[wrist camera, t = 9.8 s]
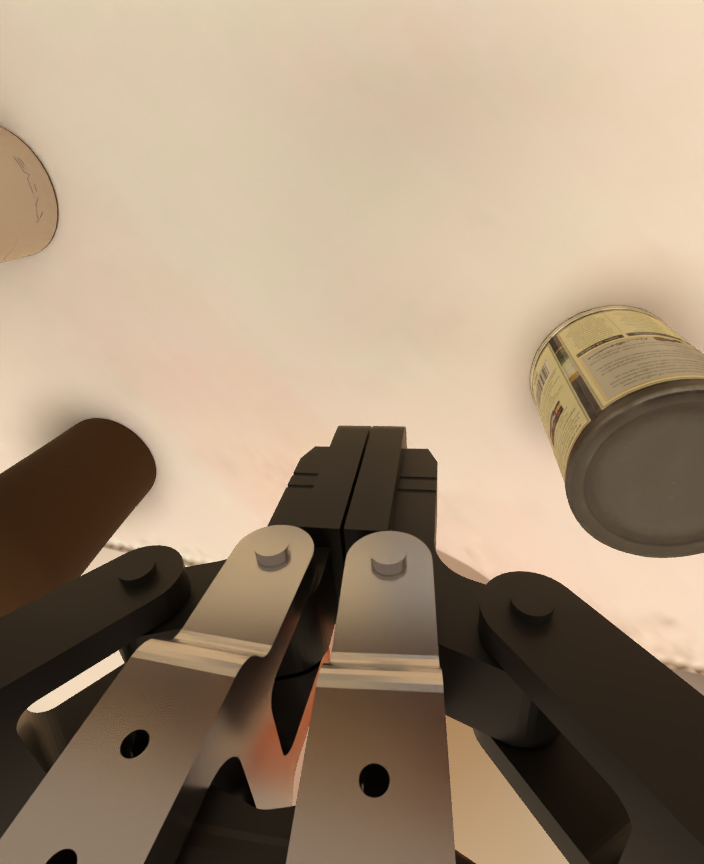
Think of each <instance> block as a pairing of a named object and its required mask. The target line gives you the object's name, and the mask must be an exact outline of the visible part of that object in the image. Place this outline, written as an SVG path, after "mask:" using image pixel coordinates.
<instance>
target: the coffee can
mask: <svg viewBox="0 0 704 864" xmlns="http://www.w3.org/2000/svg"><path fill="white" fill-rule="evenodd" d="M530 388H531V393H532V396H533V399H534V402H535V404H536V405H537V407H538V410H539V413H540V416H541V418H542V421H543V424H544V427H545V429H546V432H547V435H548V438H549V441H550V443H551V446H552V449H553V452H554V455H555V457H556V460H557V463H558V466H559V469H560V471H561V474H562V477H563V479H564V482H565V489H566V495H567V499H568V502H569V505H570V508H571V510H572V512H573V514H574V516H575V518H576V519H577V521H578V522H579V523H580V525H581V526H582V527H583V528H584V529H585V530H586V532H587V533H589V534H590V535H591V536H592V537H594V538H595V539H596V540H598V541H600V542H601V543H603V544H605V545H607V546H609V547H611V548H614V549H617V550H619V551H623V552H626V553H630V554H634V555H639V556H644V557H654V558H669V557H683V556H689V555H695V554H700V553H704V354H702V353H701V352H700V351H699V350H697V349H696V348H695V347H693V346H692V345H691V344H689V343H688V342H687V341H685V340H684V339H683V338H682V337H680V336H679V335H678V334H676V333H675V332H674V331H672V330H671V329H670V328H669V327H668V326H667V325H666V324H665V323H664V322H663V321H662V320H660V319H659V318H658V317H656V316H655V315H653V314H651V313H649V312H647V311H645V310H642V309H639V308H633V307H629V306H606V307H600V308H595V309H592V310H589V311H586V312H582V313H580V314H578V315H576V316H574V317H573V318H571V319H569V320H567V321H566V322H564V323H563V324H561V325H560V326H558V327H557V328H556V329H555V330H554V331H553V332H552V333H551V334H550V335H549V336H548V337H547V338H546V339H545V341H544V342H543V343H542V345H541V346H540V348H539V349H538V351H537V353H536V356H535V358H534V361H533V364H532V368H531V373H530Z"/></svg>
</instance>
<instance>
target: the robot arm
mask: <svg viewBox="0 0 704 864" xmlns="http://www.w3.org/2000/svg"><path fill="white" fill-rule="evenodd" d="M56 223H57V204H56V199H55V195H54V191H53V187H52V185H51V183H50V180H49V178H48V175H47V173H46V172H45V170H44V168H43V167H42V165H41V163H40V162H39V160H38V159H37V157H36V156H35V155H34V154H33V153H32V151H31V150H30V149H29V148H28V147H27V146H26V145H25V144H24V143H23V142H22V141H21V140H20V139H19V138H18V137H16V136H15V135H13V134H12V133H10V132H9V131H7V130H6V129H4V128H2V127H0V262H4V261H8V260H12V259H16V258H21V257H25V256H29V255H32V254H35V253H38V252H39V251H41V250H42V249H44V248H45V247H46V246H47V245H48V243H49V242H50V241H51V239H52V237H53V235H54V232H55V229H56ZM436 527H437V461H436V460H435V458H434V457H433V455H432V454H431V452H430V451H429V450H428V449H407V443H406V428H405V427H396V426H373V427H371V426H338V428H337V430H336V433H335V435H334V438H333V440H332V442H331V445H330V447H316V446H315V447H314V448H313V449H312V450H310V451H309V452H308V453H307V454H306V455H304V456H303V457H302V458H301V459H300V461H299V463H298V465H297V467H296V469H295V471H294V476H292V477H291V479H290V481H289V483H288V488H287V487H286V489H285V491H284V493H283V496H282V498H281V500H280V502H279V504H278V506H277V508H276V510H275V512H274V514H273V516H272V518H271V520H270V522H269V524H268V526H267V527H264V528H261V529H258V530H256V531H254V532H252V533H250V534H248V535H247V536H246V537H244V538H243V539H242V540H241V541H240V542H239V543H238V544H237V545H236V547H235V548H234V550H233V551H232V553H231V554H230V556H229V557H228V559H226V560H222V561H218V562H212V563H207V564H201V565H195V566H190V567H185V566H184V562H183V559H182V557H181V555H180V554H179V552H177V551H176V550H175V549H173V548H171V547H167V546H160V545H158V546H146V547H142V548H138V549H135V550H132V551H130V552H128V553H126V554H124V555H121V556H120V557H118V558H116V559H114V560H112V561H110V562H108V563H106V564H104V565H102V566H100V567H98V568H96V569H94V570H92V571H90V572H88V573H86V574H84V575H82V576H80V577H78V578H77V579H75V580H73V581H71V582H69V583H67V584H65V585H63V586H61V587H59V588H57V589H55V590H53V591H51V592H49V593H47V594H45V595H43V596H41V597H39V598H37V599H36V600H34V601H32V602H30V603H28V604H26V605H24V606H22V607H20V608H18V609H16V610H14V611H12V612H10V613H8V614H6V615H4V616H2V617H0V864H476V863H474V862H472V861H471V860H470V859H468V858H467V857H465V856H464V855H462V854H461V853H459V852H458V851H457V850H455V846H454V832H453V817H452V802H451V788H450V774H449V759H448V745H447V731H446V716H445V715H447V716H449V717H451V718H453V719H455V720H457V721H460V722H462V723H464V724H466V725H468V726H470V727H472V728H473V730H474V733H475V736H476V738H477V740H478V742H479V743H480V745H481V746H482V748H483V749H484V750H485V752H486V753H487V754H488V756H489V757H490V758H491V760H492V761H493V762H494V764H495V765H496V766H497V768H498V769H499V770H500V772H501V773H502V774H503V776H504V777H505V778H506V780H507V781H508V782H509V784H510V785H511V786H512V788H513V789H514V790H515V792H516V793H517V794H518V795H519V797H520V798H521V799H522V801H523V802H524V803H525V805H526V806H527V807H528V809H529V810H530V812H531V813H532V814H533V815H534V817H535V818H536V819H537V821H538V822H539V823H540V825H541V826H542V827H543V829H544V830H545V831H546V833H547V834H548V835H549V837H550V838H551V839H552V841H553V842H554V843H555V845H556V846H557V847H558V849H559V850H560V851H561V853H562V854H563V855H564V857H566V859H567V861H568V862H569V863H570V864H704V696H703V695H702V694H701V693H699V692H698V691H697V690H695V689H694V688H693V687H692V686H690V685H689V684H688V683H687V682H685V681H684V680H683V679H682V678H680V677H679V676H678V675H677V674H675V673H674V672H673V671H672V670H670V669H669V668H668V667H666V666H665V665H664V664H663V663H661V662H660V661H659V660H658V659H656V658H655V657H654V656H653V655H651V654H650V653H649V652H648V651H646V650H645V649H644V648H642V647H641V646H640V645H639V644H637V643H636V642H635V641H634V640H632V639H631V638H630V637H629V636H627V635H626V634H625V633H623V632H622V631H621V630H620V629H618V628H617V627H616V626H615V625H613V624H612V623H611V622H610V621H608V620H607V619H606V618H605V617H603V616H602V615H601V614H599V613H598V612H597V611H596V610H594V609H593V608H592V607H591V606H589V605H588V604H587V603H586V602H584V601H583V600H582V599H580V598H579V597H578V596H577V595H575V594H574V593H573V592H572V591H570V590H569V589H568V588H567V587H565V586H564V585H562V584H561V583H559V582H557V581H556V580H554V579H552V578H549V577H547V576H544V575H541V574H537V573H532V572H523V571H516V572H508V573H504V574H501V575H499V576H496V577H495V578H493V579H492V580H490V581H489V582H488V583H487V584H486V585H485V584H482V583H479V582H476V581H473V580H470V579H467V578H465V577H462V576H460V575H459V574H457V573H455V572H453V571H452V570H451V569H449V568H448V567H447V566H446V565H445V564H444V563H443V562H442V561H441V560H440V558H439V557H438V555H437V553H436ZM335 624H336V626H335V632H334V639H333V646H332V653H331V658H330V651H329V645H330V641H331V637H332V633H333V629H334V625H335ZM118 650H119V652H120V654H121V656H122V658H123V660H124V662H125V663H124V664H123V665H121V666H120V667H118V668H116V669H115V670H113V671H112V672H110V673H109V674H107V675H105V676H104V677H102V678H101V679H99V680H98V681H96V682H94V683H93V684H91V685H90V686H88V687H87V688H85V689H83V690H82V691H80V692H79V693H78V694H76V695H74V696H73V697H71V698H69V699H68V700H66V701H65V702H63V703H62V704H60V705H59V706H57V707H55V708H53V709H51V710H49V711H46V712H42V713H33V712H30V711H28V710H27V708H28V707H29V706H30V705H31V704H32V703H34V702H35V701H37V700H38V699H40V698H42V697H43V696H45V695H46V694H48V693H50V692H51V691H53V690H55V689H56V688H58V687H59V686H61V685H63V684H64V683H66V682H68V681H69V680H71V679H72V678H74V677H76V676H77V675H79V674H80V673H82V672H84V671H85V670H87V669H88V668H90V667H92V666H93V665H95V664H97V663H98V662H100V661H102V660H103V659H105V658H106V657H108V656H110V655H111V654H113V653H115V652H116V651H118ZM308 728H309V731H308ZM307 731H308V737H307V743H306V748H305V754H304V760H303V766H302V772H301V778H300V783H299V789H298V795H297V801H296V806H292V799H293V783H294V776H295V771H296V767H297V763H298V759H299V756H300V753H301V750H302V747H303V744H304V741H305V738H306V734H307Z"/></svg>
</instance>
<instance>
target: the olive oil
mask: <svg viewBox="0 0 704 864" xmlns="http://www.w3.org/2000/svg"><path fill="white" fill-rule="evenodd" d="M155 476H156V469H155V464H154V461H153V458H152V456H151V454H150V452H149V450H148V449H147V447H146V446H145V444H144V443H143V442H142V441H141V440H140V439H139V438H138V437H137V436H136V435H135V434H134V433H132V432H131V431H130V430H128V429H126V428H125V427H123V426H121V425H119V424H117V423H114V422H111V421H108V420H103V419H89V420H85V421H82V422H80V423H78V424H76V425H75V426H73V427H71V428H70V429H69V430H67V431H66V432H64V433H63V434H61V435H60V436H58V437H57V438H55V439H54V440H52V441H51V442H49V443H47V444H46V445H44V446H43V447H41V448H40V449H38V450H37V451H35V452H34V453H32V454H30V455H29V456H27V457H26V458H24V459H23V460H21V461H19V462H18V463H16V464H15V465H13V466H12V467H10V468H9V469H7V470H5V471H4V472H2V473H1V474H0V617H2V616H4V615H6V614H8V613H10V612H12V611H14V610H16V609H18V608H20V607H22V606H24V605H26V604H28V603H30V602H32V601H34V600H36V599H37V598H39V597H41V596H43V595H45V594H47V593H49V592H51V591H53V590H55V589H57V588H59V587H61V586H63V585H65V584H67V583H69V582H71V581H73V580H75V579H77V578H78V577H80V576H81V574H82V573H83V572H84V571H85V569H86V568H87V567H88V566H89V564H90V563H91V562H92V561H93V559H94V558H95V557H96V555H97V554H98V553H99V552H100V551H101V549H102V548H103V547H104V546H105V544H106V543H107V542H108V540H109V539H110V538H111V537H112V535H113V534H114V533H115V532H116V530H117V529H118V528H119V527H120V525H121V524H122V523H123V522H124V520H125V519H126V518H127V517H128V516H129V514H130V513H131V512H132V511H133V510H134V508H135V507H136V506H137V505H138V504H139V502H140V501H141V500H142V499H143V498H144V496H145V495H146V494H147V493H148V491H149V490H150V489H151V487H152V486H153V484H154V481H155Z"/></svg>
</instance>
